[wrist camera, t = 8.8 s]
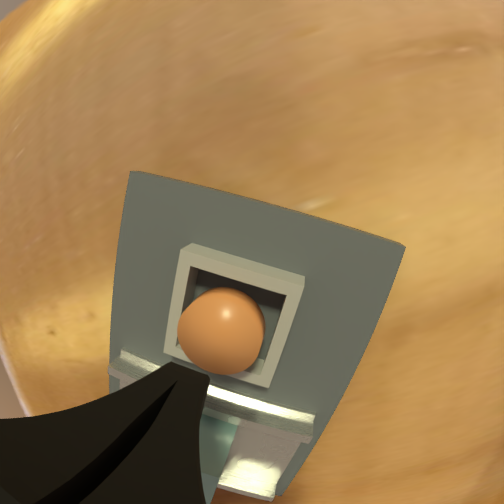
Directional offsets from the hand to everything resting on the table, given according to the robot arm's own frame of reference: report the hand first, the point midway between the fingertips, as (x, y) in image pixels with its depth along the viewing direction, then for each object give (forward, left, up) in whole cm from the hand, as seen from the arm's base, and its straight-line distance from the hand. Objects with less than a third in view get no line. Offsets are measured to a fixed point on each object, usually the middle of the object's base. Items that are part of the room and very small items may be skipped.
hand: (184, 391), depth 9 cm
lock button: (0, 0, -5) cm, 5 cm away
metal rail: (-9, 0, -7) cm, 11 cm away
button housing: (0, 0, -8) cm, 8 cm away
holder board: (-5, 0, -8) cm, 9 cm away
